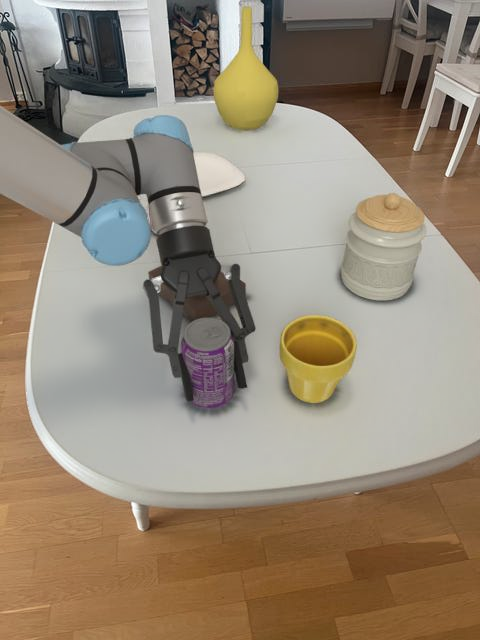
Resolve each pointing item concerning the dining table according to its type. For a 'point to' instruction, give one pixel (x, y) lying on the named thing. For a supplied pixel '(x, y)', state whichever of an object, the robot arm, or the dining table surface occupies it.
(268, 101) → the vase
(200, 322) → the beverage can
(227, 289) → the button box
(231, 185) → the plate
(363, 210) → the jar
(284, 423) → the dining table surface
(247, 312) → the robot arm
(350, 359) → the flower pot
